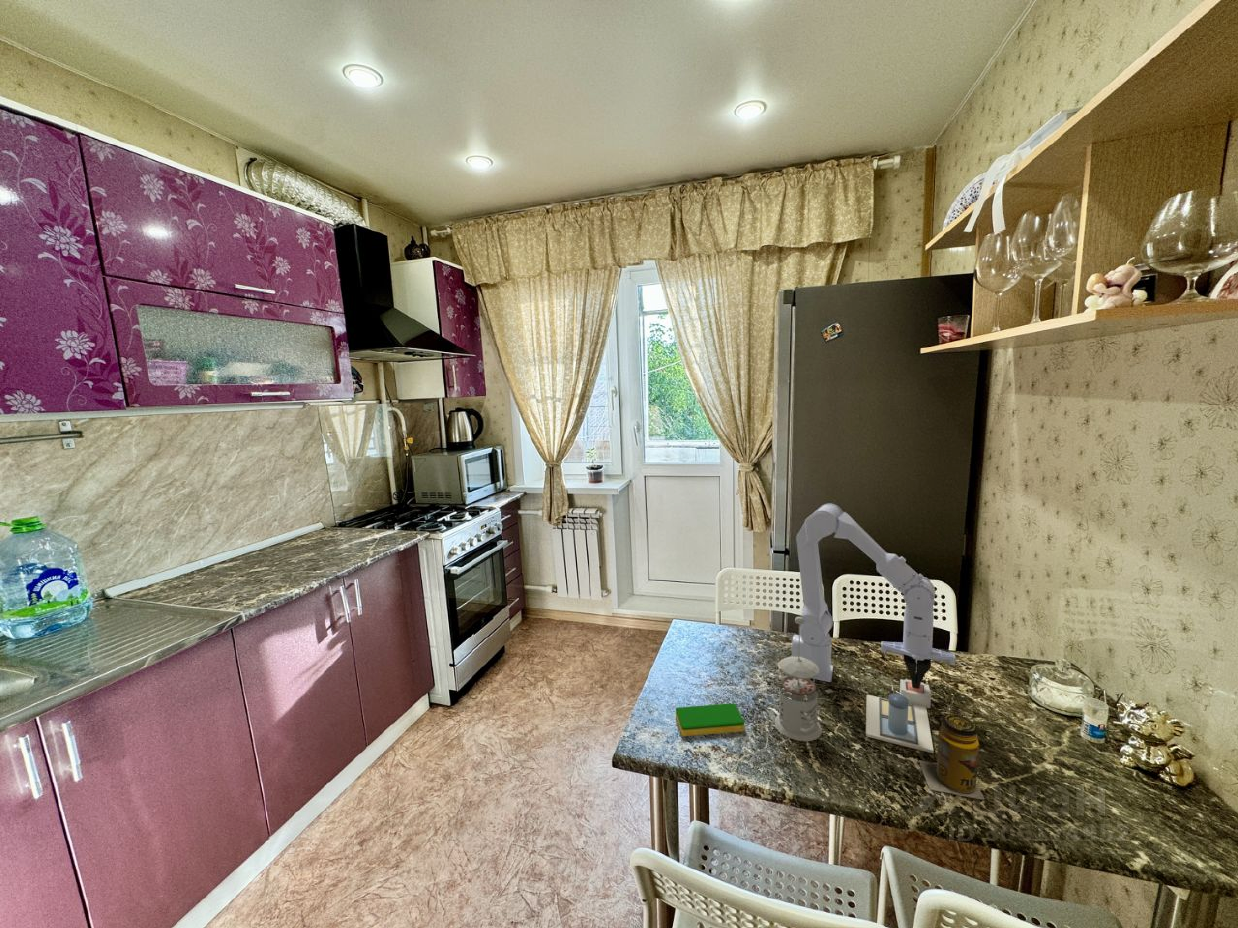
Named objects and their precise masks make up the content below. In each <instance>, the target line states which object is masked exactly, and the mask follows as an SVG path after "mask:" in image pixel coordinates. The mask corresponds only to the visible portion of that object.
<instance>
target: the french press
mask: <svg viewBox="0 0 1238 928" xmlns="http://www.w3.org/2000/svg"><path fill="white" fill-rule="evenodd" d="M794 623H795V624H797V625H798V635H799V648H798V657H792V655H791V656H786V657H785V658H783V659H781V660H780V661H779V663H778V665H779V667H780V671H782V672H783V673H784V674H785V675H787V676H785V677H783V678H782V679H781V681H780V682H781V683H780V686H779V709H778V711H779V712H778V713H779V714H777V716H776V717H775V719H774V725H775V728H776V729H777V730H778V732H779V733H780V734H782V735H784V736H785V737H787V738H789V739H793V740H795V741H800V742H810V741H815V740H817V739H818V738H819V737H820V736H821V735H822V733H823V728H822V725H821V724H820V723H819V721H818V711H819V709H818V706H819V705H818V703H819V702H818V691H817V685H816V684H815V680H816V679H815V676H817V675H818V673H819V668H818V666H817V665H816V664H815V663H813V662H812V661H810V660H807V659H805V658H803V657H799V651H800V625H801V624H804V619H803V618H802V617H801V616H796V617H795V619H794ZM812 679H813V680H812ZM782 689H783V690H782ZM784 693H786V694H784ZM787 693H790V694H787ZM804 696H806V701H804V698H805V697H804Z"/></svg>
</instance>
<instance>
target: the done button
mask: <svg viewBox="0 0 1238 928" xmlns="http://www.w3.org/2000/svg"><path fill="white" fill-rule="evenodd" d="M908 690H910V691H914V692H919V693H923V687H922V685H920V687H919V689H917V688H913V687H912V682H909V683H908Z"/></svg>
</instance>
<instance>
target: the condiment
mask: <svg viewBox="0 0 1238 928" xmlns="http://www.w3.org/2000/svg"><path fill="white" fill-rule="evenodd" d="M937 742H938V744H937V757H936V758H937V760H936V763H935V762H929V761H925V760H919V759H918V763H919V766H920V768H921V771H922V773H923V777H924V779H925V781H926V783H927V787H928V788H929V790H930V791H937V792H942V793H946V794H947V793H949V794H952V795H955V796H961V797H967V798H971V799H978V800H985V797H984V795H983V793H982V791H981V789H980V788H979V786H978V784H977V778H978V767H979V765H978V763H979V751H980V750H979V749H980V743H979V739H978V728H977V726H976V724H975V722H973V721H972V720H971V719H969V718H968V717H965V716H963V715H960V714H955V713H947V714H945V715H944V716H943V717H942V718H941V725H940V728H939V730H938V741H937Z"/></svg>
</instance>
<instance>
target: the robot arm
mask: <svg viewBox="0 0 1238 928" xmlns="http://www.w3.org/2000/svg"><path fill="white" fill-rule="evenodd" d="M833 533H834V536H833V538H836V539H844V540H845V539H846V540H849V542H851V543H852V544H854V546H856V547H857V548H858V549H859V550H861V551H862V553H864V554H866V556H868V558H870V559H871V560H873V562H874V563H875V565H876V572H877V573H879V574H880V575H881V576H882V577H883V578H884V579H885V580H886V581H887V582H888V583H890V585H891V586H893V587H894V588H895V589H896V590H897V591H898V592H899V593H901V594H902V597H903V600H904V602H905V608H904V612H903V613H904V615H903V636H902V637H903V638H902V640H903V641H902V642H901V641H900V642H899V641H898V642H897V641H883V640H882V641H880V642H881V643H880V644H881V647H880V650H881V651H880V652H881V653H883V654H887V653H891V654H896V655H901V656H903V662H904V664H905V666H906V667H905V668H907V671H908V674H909V677H910V680H912V687H913V688H917V689H919V687H920V684H921V682H922V681H923V679H924V677H925V675H926V674H927V673H928V671H930V669H931V667H932V661H934V662H939V663H940V662H941V663H946V664H948V665H950V666H954V667H955V666H956V655H955V653H953V652H948V651H944V650H941V649H938V648H934V647H933V635H934V619H935V618H934V617H935V615H934V605H935V603H936V599H935V597H936V589H935V586H934V584H933V583H932V582H931V580H930V579H929V578H928V577H924V575H923V574H922V573H919V574H918V573H917V572H916V571H915V570H914V569H913V568H912V567H911V566H910V565H908V564H907V563H906V561H907V559H906V558H905V557H904V556H903V555H902V556H899V555H897V554H896V553H889V552H886V551H885V549H883V548H882V547H881V546H880V545H879V544H878V543H877V542H876V541H875V540H874V539H873V537H871V536H870V535H869V533H867V532H866V531H865V530H864V529H863V528H862V527H861V526H860V525H859V524H858V523H857V522H856V521H855V520H854V519H853V517H852V516H851V515H850V514H848V513H847V512H846V511H843V510H842V508H841V507H840V506H838V505H836V504H834V503H825V504H822V505H821V506H820V507H818V509H816V510H815V511H814V512H813V513H811V514H810V515H809V516H808V517H806V518H805V520H804V523H803V524H802V525H801V527H800V530H799V531H798V532H797V534H796V538H795V539H796V549H797V558H798V565H799V567H798V568H799V576H800V585H801V594H802V601H803V602H802V604H803V605H802V610H801V616H800V617H802V618H803V619H804V624H800V651H799V657H803V658H805V659H807V660H810V661H812V662H813V663H815V664H816V665H817V666H818V668H819V673H818V675H817V676H815V680H819V681H821V682H822V681H823V682H827V683H830V682H832V679H833V678H832V677H833V670H834V665H832V664H831V661H832V660H831V659H832V658H831V657H832V638H831V636H830V633H829V631H830V630H831V629H832V627H833V626H834V619H833V617H832V615H831V613H830V612H829V609H828V607H829V606H828V604H827V603H826V600H825V595H824V587H823V585H824V584H823V577H822V568H821V558H820V551H819V550H820V549H819V542H820V541H821V540H822V539H823V538H825V537H828V536H831V535H833ZM798 648H799V634H794V635H793V636H792V644H791V656H792V657H798Z"/></svg>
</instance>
